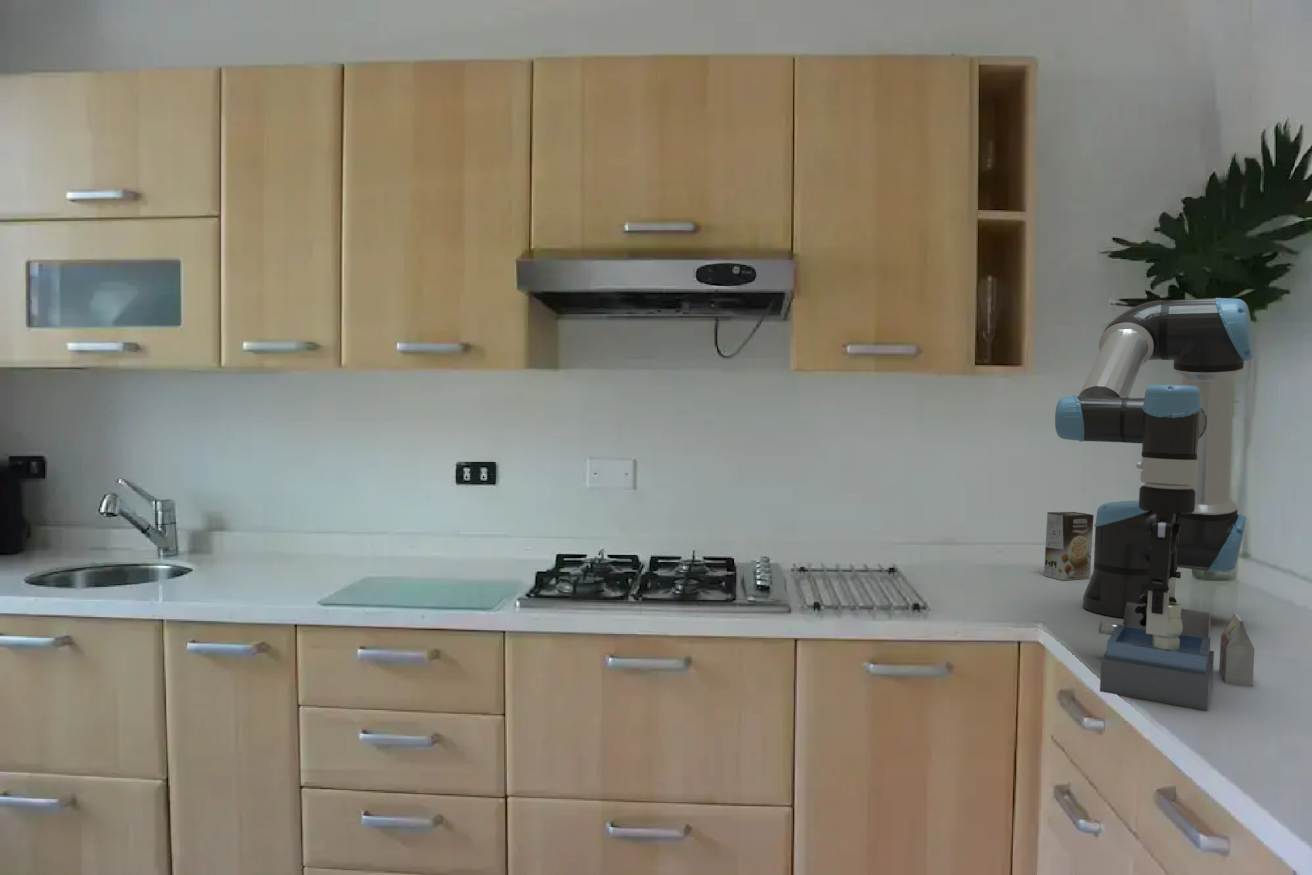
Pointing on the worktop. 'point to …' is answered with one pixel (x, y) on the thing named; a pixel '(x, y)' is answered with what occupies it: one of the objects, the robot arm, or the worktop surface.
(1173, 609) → the valve
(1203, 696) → the motor
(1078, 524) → the coffee box
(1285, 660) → the worktop surface
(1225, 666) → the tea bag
